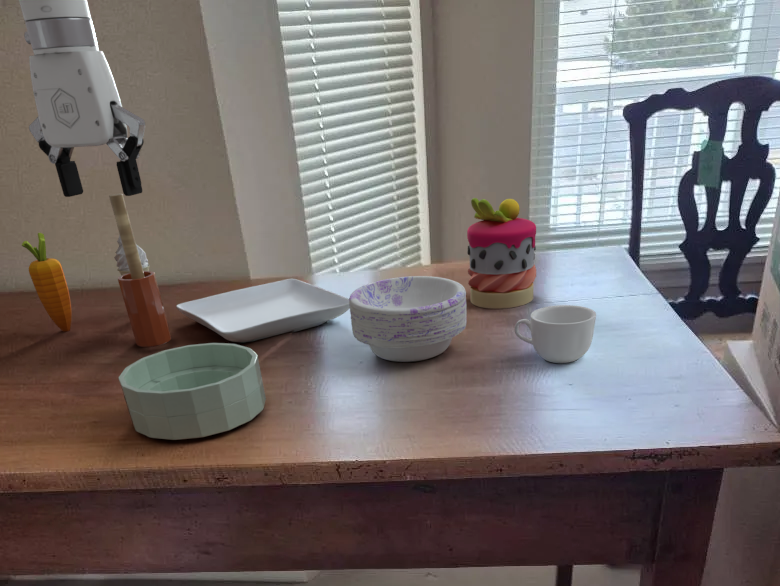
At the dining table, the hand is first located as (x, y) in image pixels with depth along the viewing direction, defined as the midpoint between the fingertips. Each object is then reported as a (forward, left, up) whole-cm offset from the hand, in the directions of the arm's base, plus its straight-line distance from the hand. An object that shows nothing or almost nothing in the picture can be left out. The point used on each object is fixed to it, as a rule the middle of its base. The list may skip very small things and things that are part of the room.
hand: (103, 194), depth 97 cm
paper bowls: (+41, +3, -21) cm, 46 cm away
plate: (+14, +12, -21) cm, 28 cm away
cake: (+48, +27, -21) cm, 59 cm away
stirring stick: (+1, +1, -20) cm, 20 cm away
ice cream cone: (-9, +13, -21) cm, 26 cm away
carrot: (-18, +4, -21) cm, 28 cm away
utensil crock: (+1, +1, -21) cm, 21 cm away
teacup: (+60, +3, -21) cm, 63 cm away
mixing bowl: (+23, -21, -21) cm, 37 cm away
